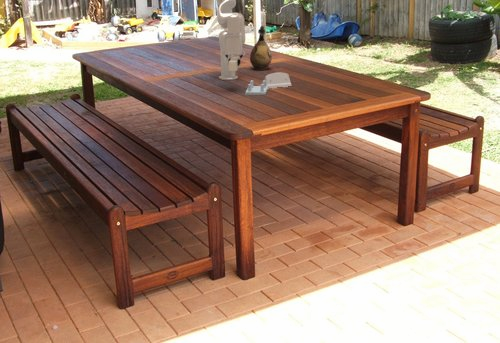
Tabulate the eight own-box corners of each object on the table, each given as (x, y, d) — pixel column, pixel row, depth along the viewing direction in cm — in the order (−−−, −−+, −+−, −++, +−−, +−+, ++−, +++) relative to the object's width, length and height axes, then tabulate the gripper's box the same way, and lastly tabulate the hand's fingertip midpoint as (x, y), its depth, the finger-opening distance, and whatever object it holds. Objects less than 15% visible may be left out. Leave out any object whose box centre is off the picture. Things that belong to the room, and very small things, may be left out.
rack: (249, 88, 438) (249, 79, 436) (268, 88, 436) (268, 79, 434) (245, 94, 421) (245, 85, 419) (265, 94, 419) (265, 85, 417)
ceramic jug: (271, 71, 489) (271, 27, 479) (249, 71, 490) (249, 28, 480) (271, 66, 505) (271, 24, 496) (250, 66, 506) (249, 24, 496)
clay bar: (232, 65, 437) (232, 56, 435) (240, 65, 436) (239, 56, 434) (228, 70, 422) (228, 61, 420) (236, 71, 421) (236, 62, 419)
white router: (267, 88, 435) (265, 72, 435) (264, 90, 439) (262, 74, 439) (292, 86, 440) (290, 70, 440) (289, 87, 444) (287, 72, 444)
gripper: (218, 36, 420) (219, 66, 426) (246, 36, 418) (247, 67, 424) (221, 34, 427) (221, 64, 433) (248, 34, 425) (248, 64, 431)
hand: (234, 65), depth 428 cm, fingers closed on clay bar, 4 cm apart
